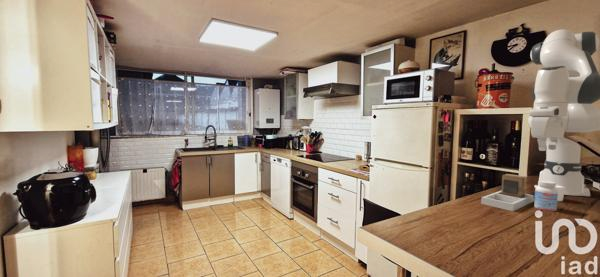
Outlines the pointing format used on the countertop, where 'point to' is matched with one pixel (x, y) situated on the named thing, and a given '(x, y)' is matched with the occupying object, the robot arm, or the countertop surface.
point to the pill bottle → (546, 196)
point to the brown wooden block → (513, 185)
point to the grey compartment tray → (506, 201)
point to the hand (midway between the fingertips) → (547, 150)
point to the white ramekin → (560, 192)
